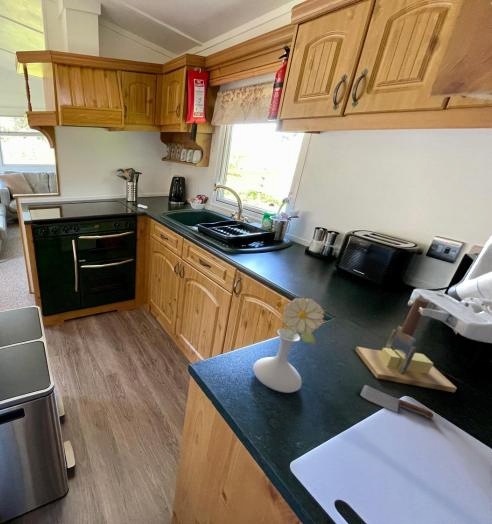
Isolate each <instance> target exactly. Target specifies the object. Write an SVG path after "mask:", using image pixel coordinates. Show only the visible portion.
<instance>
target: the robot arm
mask: <svg viewBox="0 0 492 524" xmlns="http://www.w3.org/2000/svg"><path fill="white" fill-rule="evenodd" d="M417 297H418V298H423V299H426V300H428V301H429V304H428V306H427V307H420V308H419V310H418V312H419V313H420V314H421V315H423V316H422V317H429V318H432V319H435V320H437V321H441V322H442V323H444V324H445V325H446V326H448V327H449V328H450V329H452V330H453V331H455V332H457V334H459V335H460V336H462V337H465V339H466V338H467V339H469V340H473V341H476V342H483V343H489V344H492V234H491V235H490V237H488V240H487V241H486V243H485V244H484V245H483V247H482V248H481V249H480V251H479V252H478V254H476V256H475V258H474V260H473V261H472V262H471V265H470V266H469V268H468V269H467V271H466V273H465V274H464V276H463V277H462V279H461V280H460V281H459V282H458V283H456V284H454V285H452V286H451V287H450V288H449V289H448V291H447V294H446V293H443V292H440V291H435V290H430V289H424V288H415V289H413V291H412V293H411V295H410V298H409V300H408V302H407V306H408V307H410V308H412V305H413V303H414V301H415V299H416V298H417Z"/></svg>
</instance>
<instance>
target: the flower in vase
mask: <svg viewBox="0 0 492 524" xmlns="http://www.w3.org/2000/svg"><path fill="white" fill-rule="evenodd" d="M282 314H283V316H281V318H282V322H283V324H284V326H286V327H287V328H278V329H277V331H276V332H277V335H278V337H279V346H278V351H277V354H276V355H275V356H267V357H262V358H260V359H258V360H256V361H255V362H254V363H253V366H252V368H253V369H252V371H253V373H254V375H255V377H256V378H257V380H258V382H260V383H261V384H263V385H264V386H265V387H267V388H269V389H271V390H273V391H276V392H278V393H284V394H291V393H294V392H298V391H299V390H300V389H301V388H302V384H303V383H302V377H301V375H300V373H299V372H298V370H297V369H296V368H295V367H294V366H293V365H292V364H291V363H289V361H288V357H289V353H290V351H291V349H292V347H293V345H294V344H295V343H297V342H298V341H300V340H302V341H303V342H305V343H307V344H311V345H317V342H316V340H315V336H314V334H313V332H315V330H317V329H319V328H320V327H321V326H322V325H323V324H324V323H325V320H323V319H324V318H325V315H324V314H325V310H324V309H323V307H321V306H320V304H318V303H317V302H316V301H315V300H313V298H312V297H311V298H305V297H301V298H298V297H295V298H293V300H290V301H289V302H288V304H285V305H284V308H283V313H282ZM298 333H300V335H299V334H298Z"/></svg>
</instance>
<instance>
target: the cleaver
mask: <svg viewBox="0 0 492 524" xmlns="http://www.w3.org/2000/svg"><path fill="white" fill-rule="evenodd" d="M359 395H360V396H361V397H362V398H364V399H365V400H367V401H369V402H371V403H373V404H376V405H378V406H380V407H383V408H384V409H387V410H389V411H392V412H396V413H398V412H399V409H398V408H399V407H401V408H403V409H405V410H408V411H410V412H412V413H415V414H417V415H421V416H423V417H425V418H427V419H433V418H434V414H433V412H432V411H430V410H429V409H427V408H425V407H421V406H418V405H416V404H414V403H411V402H408V401H405V400H403V399H401V398H397V397H394V396H392V395H389V394H387V393H384V392H382V391H380V390H378V389H376V388H373V387H371V386H370V385H367V384H364V386H363V388H362V389H361V392H360V394H359Z"/></svg>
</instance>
